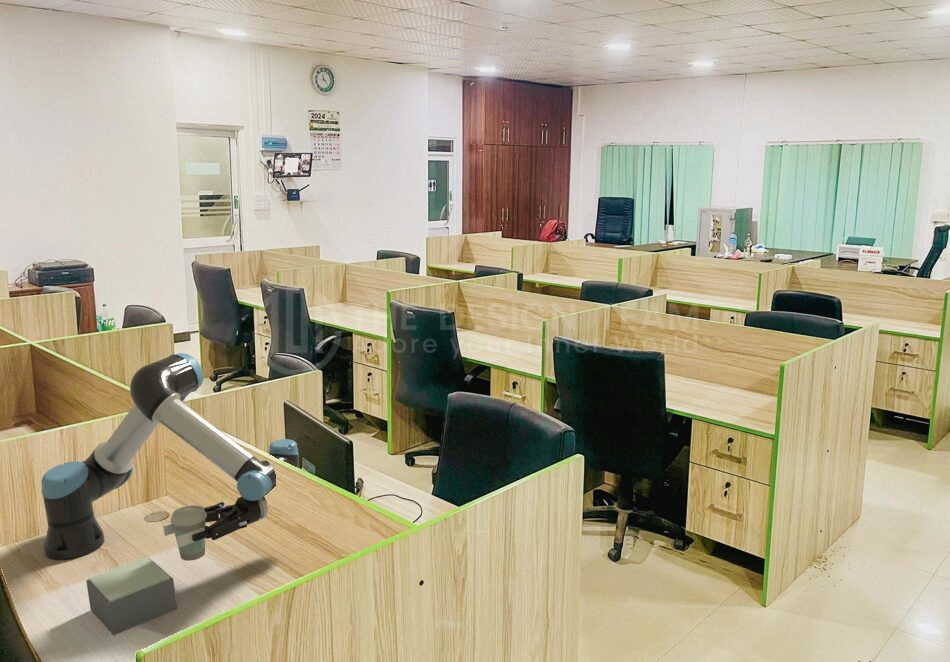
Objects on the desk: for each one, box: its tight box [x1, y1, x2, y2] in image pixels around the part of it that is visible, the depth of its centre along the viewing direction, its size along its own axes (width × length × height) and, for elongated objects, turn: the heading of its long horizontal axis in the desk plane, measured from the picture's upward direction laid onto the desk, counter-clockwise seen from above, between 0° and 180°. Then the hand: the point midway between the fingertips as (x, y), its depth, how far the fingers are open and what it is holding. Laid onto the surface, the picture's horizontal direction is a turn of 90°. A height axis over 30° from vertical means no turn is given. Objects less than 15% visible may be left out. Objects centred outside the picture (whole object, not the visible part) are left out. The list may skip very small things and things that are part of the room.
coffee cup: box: [170, 504, 207, 562], centre depth 195 cm, size 8×8×12 cm
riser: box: [85, 556, 178, 636], centre depth 187 cm, size 15×15×9 cm
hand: (171, 536), depth 191 cm, fingers closed on coffee cup, 8 cm apart
